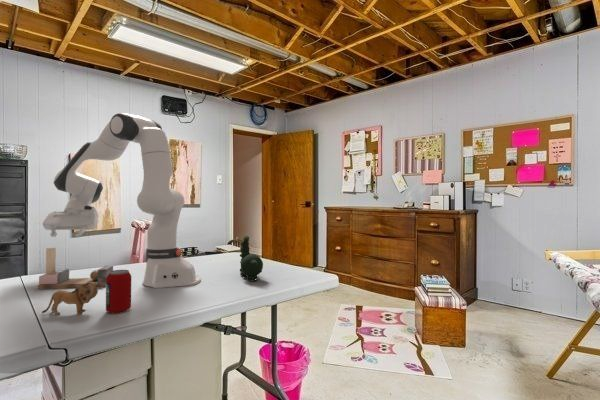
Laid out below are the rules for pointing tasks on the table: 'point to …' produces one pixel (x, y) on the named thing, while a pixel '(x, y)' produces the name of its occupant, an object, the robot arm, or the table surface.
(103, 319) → the table surface
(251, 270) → the toy figurine
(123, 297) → the beverage can
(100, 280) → the press base
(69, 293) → the lion figurine
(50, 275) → the press slider
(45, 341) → the table surface
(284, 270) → the table surface
